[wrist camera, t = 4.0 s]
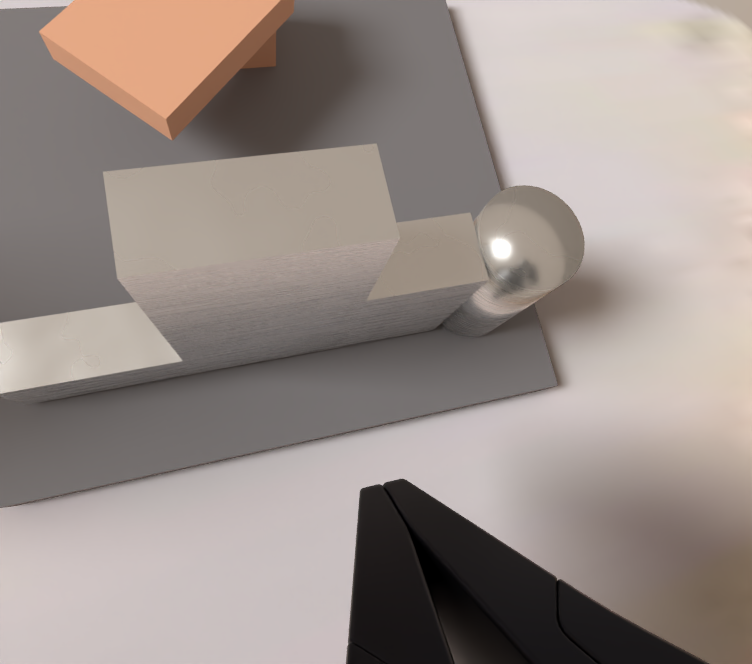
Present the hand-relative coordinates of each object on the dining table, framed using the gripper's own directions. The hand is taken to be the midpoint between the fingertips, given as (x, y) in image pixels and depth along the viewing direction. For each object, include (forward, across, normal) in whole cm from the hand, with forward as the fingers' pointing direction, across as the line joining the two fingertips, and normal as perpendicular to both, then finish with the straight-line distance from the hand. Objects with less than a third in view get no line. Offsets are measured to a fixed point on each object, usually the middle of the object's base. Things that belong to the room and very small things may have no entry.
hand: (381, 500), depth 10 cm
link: (+8, -1, -1) cm, 8 cm away
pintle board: (+12, -1, +1) cm, 12 cm away
